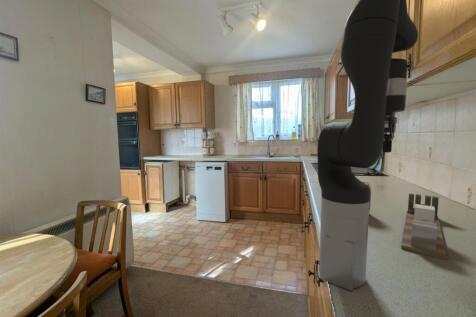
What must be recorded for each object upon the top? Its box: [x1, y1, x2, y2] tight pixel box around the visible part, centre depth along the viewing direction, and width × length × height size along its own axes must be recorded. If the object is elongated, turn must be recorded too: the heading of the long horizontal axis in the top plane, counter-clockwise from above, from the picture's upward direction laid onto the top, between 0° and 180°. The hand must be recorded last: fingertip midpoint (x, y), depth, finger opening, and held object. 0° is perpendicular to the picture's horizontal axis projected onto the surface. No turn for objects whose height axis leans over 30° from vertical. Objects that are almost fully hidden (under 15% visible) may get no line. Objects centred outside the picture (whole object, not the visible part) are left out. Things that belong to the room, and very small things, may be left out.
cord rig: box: [400, 192, 447, 260], centre depth 72 cm, size 35×9×8 cm, turn 142°
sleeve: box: [414, 203, 435, 223], centre depth 66 cm, size 4×4×7 cm
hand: (386, 152), depth 71 cm, fingers closed
